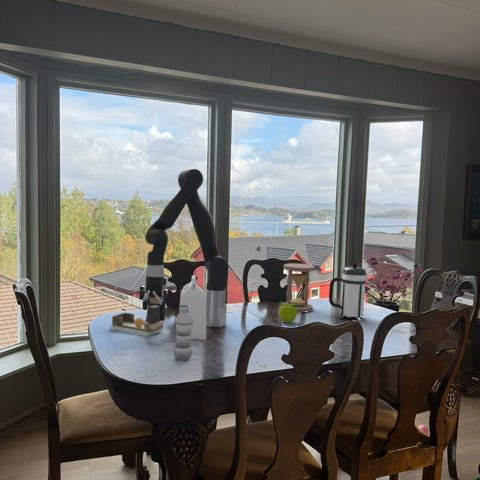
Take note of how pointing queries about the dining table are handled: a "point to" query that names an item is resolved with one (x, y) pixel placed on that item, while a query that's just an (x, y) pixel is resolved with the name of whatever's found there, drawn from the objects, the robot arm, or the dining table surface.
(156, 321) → the kicker
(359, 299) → the coffee press
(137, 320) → the ball
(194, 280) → the milk
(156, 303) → the travel mug
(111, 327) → the shallow rectangular tray
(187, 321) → the plastic bottle
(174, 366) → the dining table surface
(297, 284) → the hourglass
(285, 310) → the fruit
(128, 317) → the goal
